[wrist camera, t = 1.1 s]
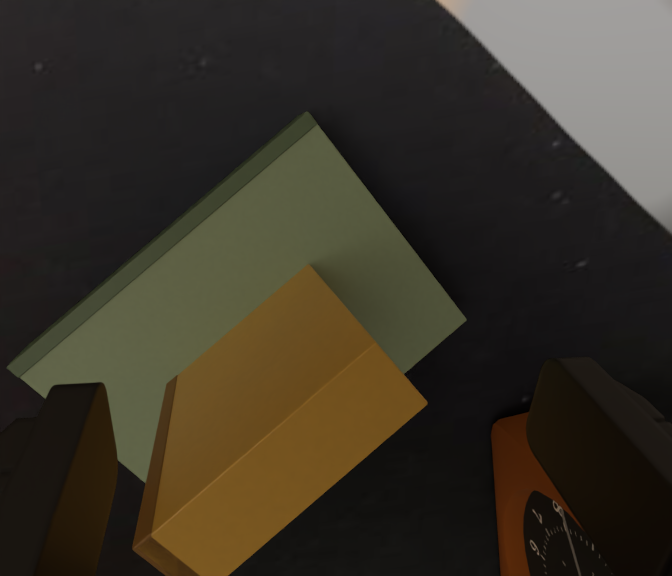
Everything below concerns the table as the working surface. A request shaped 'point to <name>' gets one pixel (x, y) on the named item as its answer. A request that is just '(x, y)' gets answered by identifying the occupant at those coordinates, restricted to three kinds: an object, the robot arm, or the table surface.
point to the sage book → (240, 283)
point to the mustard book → (265, 429)
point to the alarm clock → (535, 513)
